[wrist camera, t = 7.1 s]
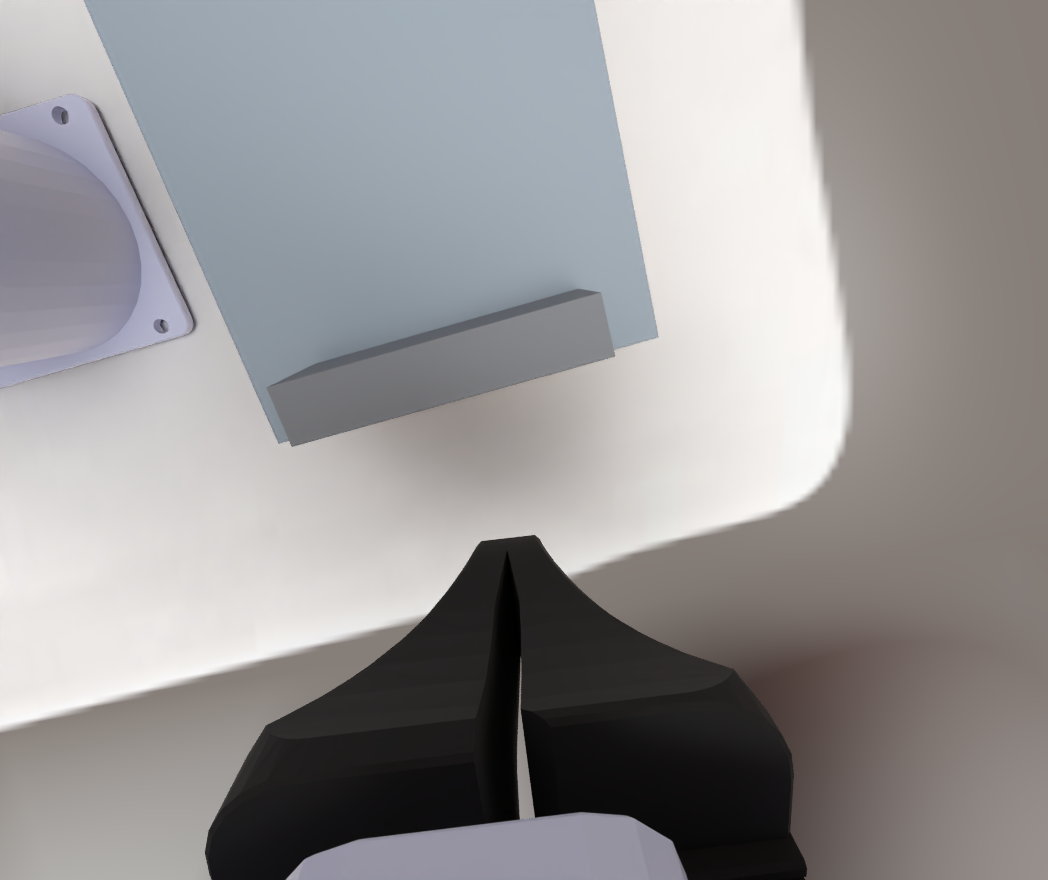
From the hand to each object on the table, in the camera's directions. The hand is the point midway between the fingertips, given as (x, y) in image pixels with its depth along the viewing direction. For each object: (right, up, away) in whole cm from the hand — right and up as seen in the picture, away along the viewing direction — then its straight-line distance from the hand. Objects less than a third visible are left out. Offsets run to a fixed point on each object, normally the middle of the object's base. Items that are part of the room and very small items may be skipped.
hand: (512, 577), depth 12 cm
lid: (-4, +12, +2) cm, 13 cm away
